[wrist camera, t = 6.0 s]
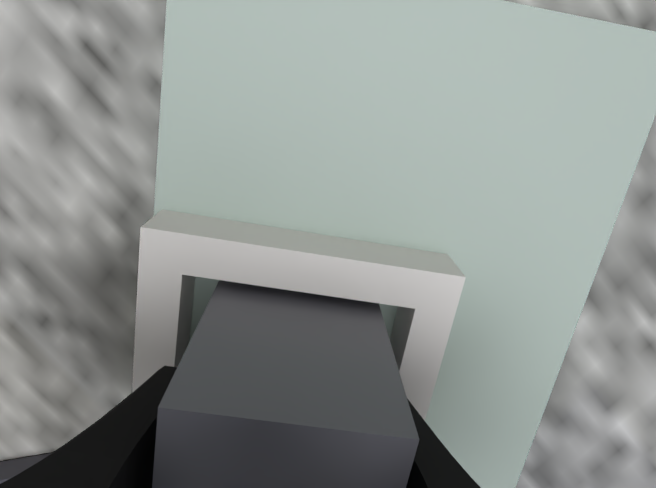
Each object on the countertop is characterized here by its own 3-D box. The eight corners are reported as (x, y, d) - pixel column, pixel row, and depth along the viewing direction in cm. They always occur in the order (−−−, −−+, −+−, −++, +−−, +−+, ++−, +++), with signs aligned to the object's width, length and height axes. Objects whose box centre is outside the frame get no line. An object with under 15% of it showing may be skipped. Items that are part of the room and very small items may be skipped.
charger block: (346, 407, 14) (370, 637, 8) (212, 389, 14) (137, 616, 8) (373, 285, 13) (423, 453, 7) (227, 263, 13) (151, 420, 7)
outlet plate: (485, 515, 17) (514, 588, 15) (146, 477, 16) (116, 548, 14) (655, 40, 12) (742, 30, 10) (182, -55, 11) (146, -94, 9)
